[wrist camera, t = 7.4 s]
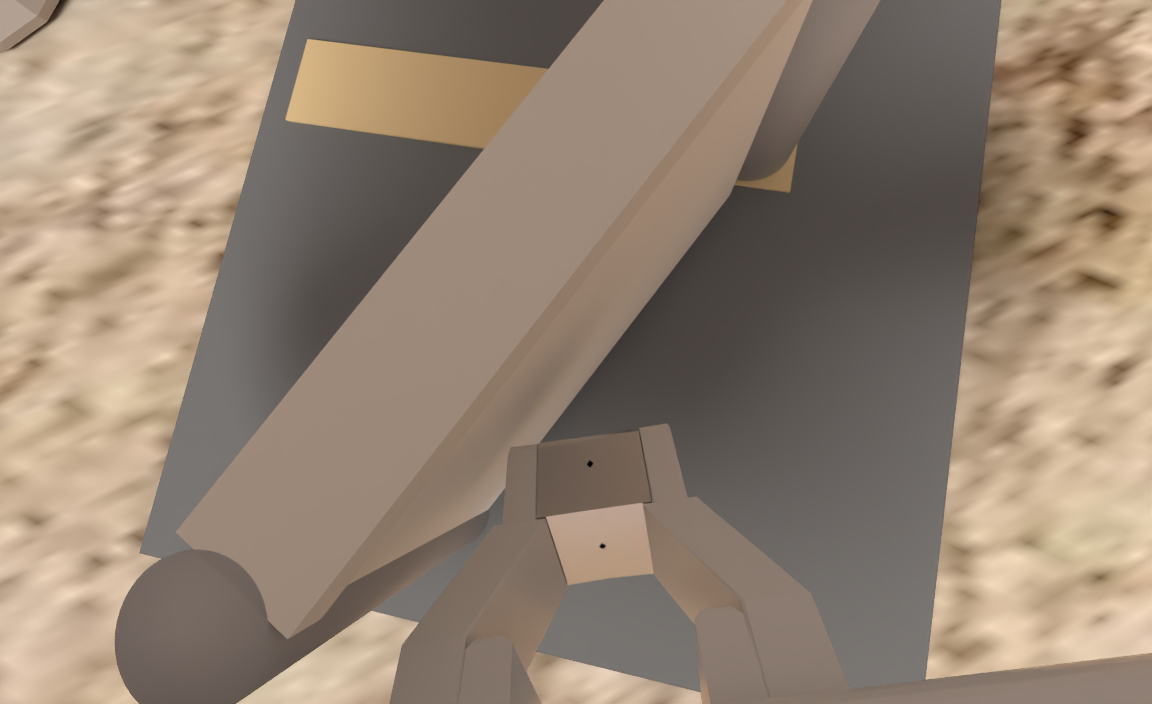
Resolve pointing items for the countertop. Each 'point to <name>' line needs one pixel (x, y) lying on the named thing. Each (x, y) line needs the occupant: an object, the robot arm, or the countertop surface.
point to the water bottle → (22, 19)
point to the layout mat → (647, 305)
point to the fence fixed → (805, 81)
